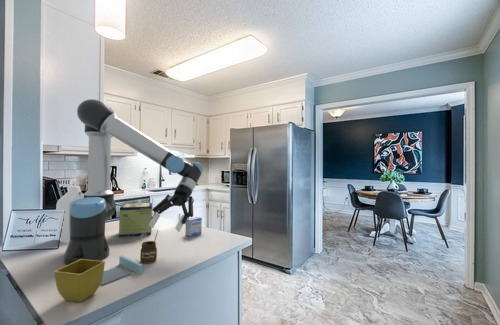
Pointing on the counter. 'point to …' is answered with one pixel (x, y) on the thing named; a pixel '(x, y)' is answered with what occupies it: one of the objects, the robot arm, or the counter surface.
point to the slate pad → (113, 275)
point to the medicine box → (193, 226)
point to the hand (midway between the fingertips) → (163, 228)
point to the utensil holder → (148, 251)
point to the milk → (68, 210)
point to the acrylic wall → (131, 264)
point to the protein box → (135, 219)
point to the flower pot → (79, 279)
